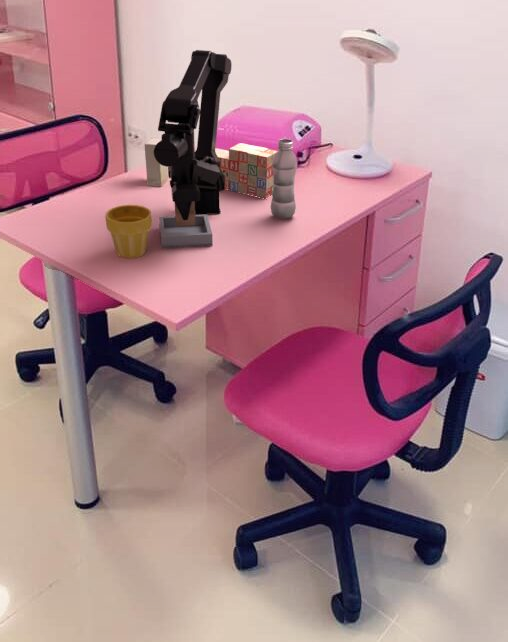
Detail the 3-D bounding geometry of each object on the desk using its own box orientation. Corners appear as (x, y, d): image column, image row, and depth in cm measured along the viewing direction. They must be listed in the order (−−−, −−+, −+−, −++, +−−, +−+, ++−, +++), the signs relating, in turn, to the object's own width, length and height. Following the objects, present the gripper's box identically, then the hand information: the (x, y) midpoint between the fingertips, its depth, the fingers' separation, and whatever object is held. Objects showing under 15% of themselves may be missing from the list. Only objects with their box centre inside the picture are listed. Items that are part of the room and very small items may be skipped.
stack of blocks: (202, 184, 207) (201, 142, 201) (214, 178, 212) (213, 136, 206) (266, 200, 198) (267, 156, 191) (277, 193, 202) (278, 150, 196)
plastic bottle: (299, 214, 189) (302, 139, 179) (289, 223, 184) (292, 146, 174) (276, 210, 192) (279, 135, 181) (266, 219, 186) (268, 142, 176)
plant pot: (157, 259, 166) (154, 219, 161) (111, 264, 163) (108, 224, 158) (149, 240, 174) (147, 202, 169) (106, 245, 172) (102, 206, 166)
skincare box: (161, 187, 205) (159, 145, 198) (146, 186, 205) (143, 144, 199) (168, 179, 210) (166, 138, 204) (153, 178, 211) (151, 137, 204)
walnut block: (175, 218, 176) (174, 195, 173) (193, 217, 177) (192, 194, 174) (176, 225, 172) (175, 202, 169) (195, 225, 173) (194, 201, 170)
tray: (207, 225, 182) (207, 214, 181) (212, 245, 172) (212, 234, 171) (159, 227, 181) (158, 216, 179) (161, 248, 170) (161, 236, 169)
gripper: (222, 164, 159) (222, 230, 167) (212, 138, 175) (213, 199, 183) (171, 166, 157) (174, 232, 165) (166, 140, 173) (169, 201, 181)
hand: (184, 215), depth 174 cm, fingers closed on walnut block, 4 cm apart
